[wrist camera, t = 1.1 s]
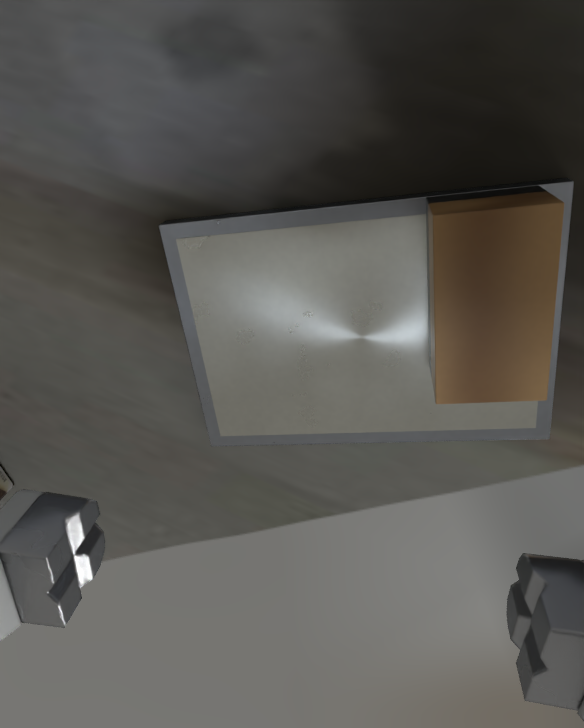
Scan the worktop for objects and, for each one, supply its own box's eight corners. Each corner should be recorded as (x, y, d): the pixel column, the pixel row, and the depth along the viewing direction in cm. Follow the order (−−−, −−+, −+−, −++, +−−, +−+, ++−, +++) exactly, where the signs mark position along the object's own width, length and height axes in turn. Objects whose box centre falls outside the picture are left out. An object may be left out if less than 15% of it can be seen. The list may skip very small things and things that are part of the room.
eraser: (538, 185, 25) (565, 202, 21) (527, 361, 29) (547, 400, 25) (425, 196, 26) (432, 215, 22) (429, 366, 29) (435, 405, 26)
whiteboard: (567, 177, 25) (574, 181, 24) (545, 429, 31) (550, 439, 30) (164, 220, 29) (157, 225, 28) (215, 437, 35) (210, 447, 34)
